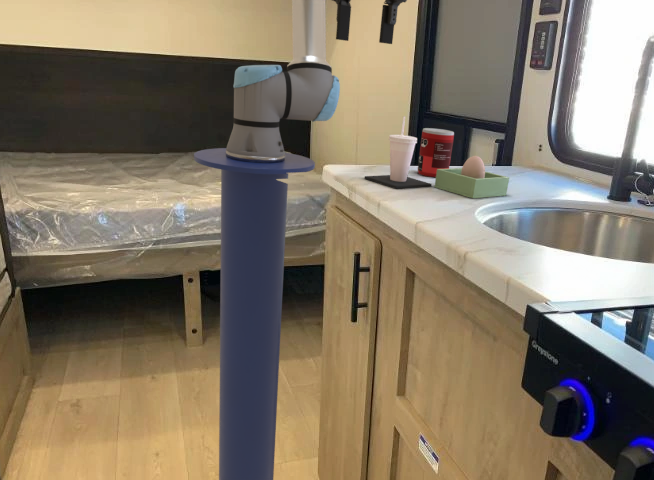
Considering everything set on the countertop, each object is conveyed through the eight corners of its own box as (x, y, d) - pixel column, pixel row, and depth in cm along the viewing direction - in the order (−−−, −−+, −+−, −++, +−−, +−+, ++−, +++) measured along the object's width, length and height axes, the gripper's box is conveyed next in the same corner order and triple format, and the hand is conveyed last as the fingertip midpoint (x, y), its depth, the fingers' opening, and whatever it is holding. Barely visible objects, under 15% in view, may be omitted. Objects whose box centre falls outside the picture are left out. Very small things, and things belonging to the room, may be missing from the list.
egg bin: (434, 187, 137) (436, 169, 135) (467, 184, 144) (470, 167, 142) (472, 198, 129) (475, 179, 127) (506, 195, 136) (509, 177, 134)
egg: (468, 185, 139) (473, 153, 137) (487, 190, 136) (492, 157, 133) (454, 186, 136) (459, 154, 133) (472, 191, 132) (478, 158, 130)
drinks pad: (364, 178, 138) (364, 176, 138) (399, 176, 145) (399, 174, 144) (396, 188, 130) (396, 186, 130) (431, 186, 137) (431, 183, 137)
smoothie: (401, 176, 141) (408, 115, 136) (417, 182, 136) (425, 119, 131) (379, 177, 138) (385, 114, 133) (394, 183, 133) (402, 117, 128)
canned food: (423, 170, 157) (428, 127, 153) (452, 175, 154) (458, 131, 150) (412, 173, 151) (417, 128, 147) (442, 179, 148) (448, 133, 144)
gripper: (436, -84, 105) (420, 46, 113) (348, -72, 122) (339, 40, 130) (405, -94, 101) (391, 42, 108) (318, -81, 118) (311, 37, 125)
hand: (363, 41), depth 119 cm, fingers open, 13 cm apart
